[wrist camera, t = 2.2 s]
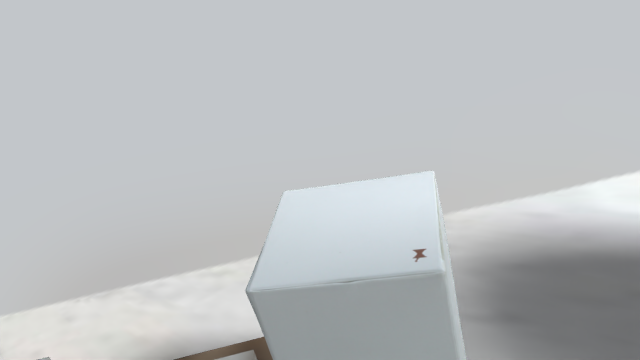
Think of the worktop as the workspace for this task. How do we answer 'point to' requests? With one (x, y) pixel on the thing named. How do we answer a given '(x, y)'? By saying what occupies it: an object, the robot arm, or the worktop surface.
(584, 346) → the worktop surface
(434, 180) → the supplement box
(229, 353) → the stamping board
